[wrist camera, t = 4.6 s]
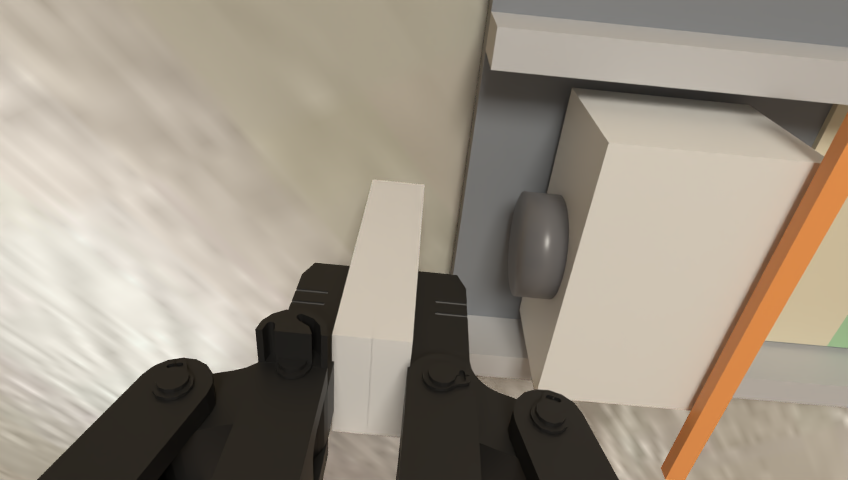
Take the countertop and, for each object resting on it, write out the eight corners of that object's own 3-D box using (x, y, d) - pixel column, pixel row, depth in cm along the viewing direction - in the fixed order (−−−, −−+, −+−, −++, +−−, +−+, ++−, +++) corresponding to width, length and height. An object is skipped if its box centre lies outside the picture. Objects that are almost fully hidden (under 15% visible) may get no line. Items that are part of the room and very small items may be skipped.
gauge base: (440, 340, 22) (440, 473, 17) (496, -47, 14) (523, -18, 9) (969, 387, 22) (1123, 530, 17) (1288, 34, 15) (1722, 104, 10)
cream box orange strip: (481, 358, 21) (489, 464, 17) (556, -15, 14) (600, 21, 10) (639, 371, 21) (684, 480, 17) (792, 9, 14) (929, 53, 10)
